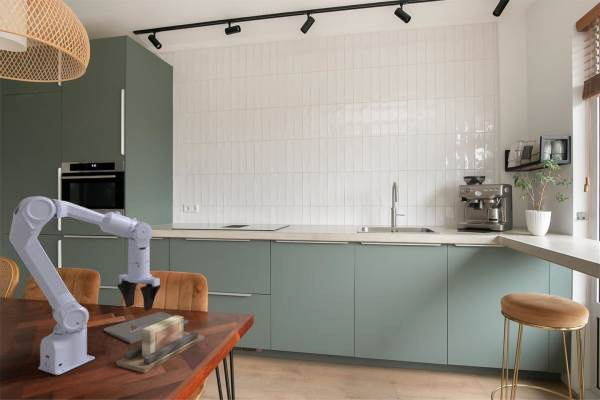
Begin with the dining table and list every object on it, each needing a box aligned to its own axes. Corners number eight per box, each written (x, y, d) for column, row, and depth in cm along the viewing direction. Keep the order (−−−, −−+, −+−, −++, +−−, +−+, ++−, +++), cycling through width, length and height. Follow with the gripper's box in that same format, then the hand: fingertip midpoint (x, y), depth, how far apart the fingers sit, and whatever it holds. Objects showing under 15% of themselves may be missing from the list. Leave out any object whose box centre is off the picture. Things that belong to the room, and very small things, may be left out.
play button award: (187, 320, 115) (130, 340, 99) (187, 324, 115) (130, 345, 99) (160, 311, 125) (104, 328, 108) (160, 315, 125) (104, 333, 108)
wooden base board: (144, 373, 82) (144, 362, 82) (116, 365, 86) (116, 355, 86) (204, 339, 102) (204, 330, 102) (179, 333, 106) (179, 326, 106)
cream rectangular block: (150, 357, 88) (150, 331, 88) (142, 355, 89) (142, 329, 89) (183, 340, 99) (183, 316, 99) (175, 338, 100) (175, 315, 100)
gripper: (167, 261, 100) (167, 307, 100) (133, 258, 106) (133, 301, 106) (148, 265, 94) (148, 314, 94) (112, 262, 99) (112, 307, 99)
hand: (139, 307), depth 99 cm, fingers open, 7 cm apart
